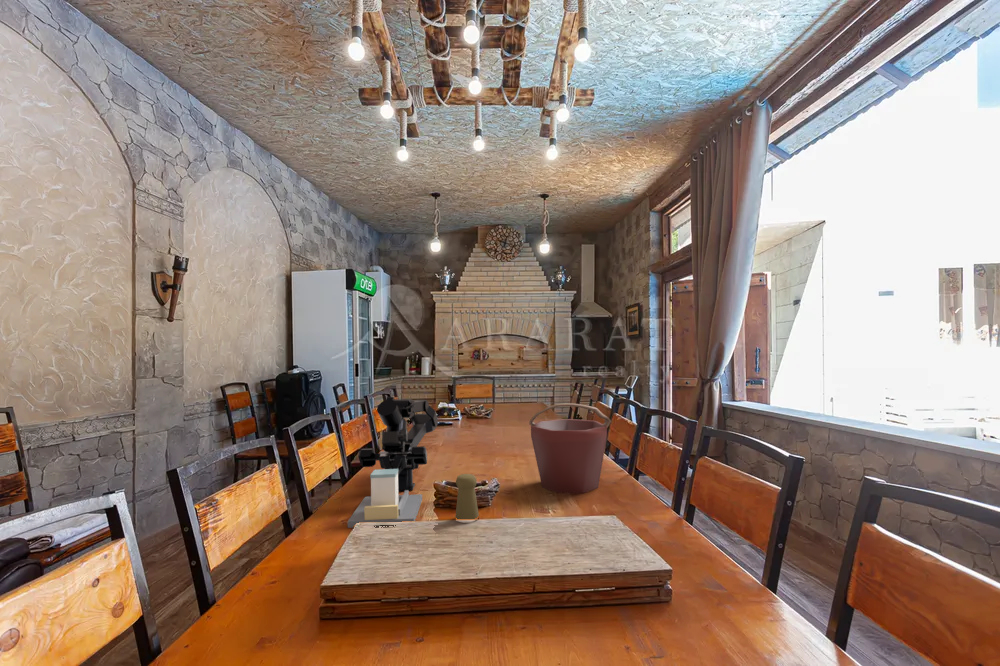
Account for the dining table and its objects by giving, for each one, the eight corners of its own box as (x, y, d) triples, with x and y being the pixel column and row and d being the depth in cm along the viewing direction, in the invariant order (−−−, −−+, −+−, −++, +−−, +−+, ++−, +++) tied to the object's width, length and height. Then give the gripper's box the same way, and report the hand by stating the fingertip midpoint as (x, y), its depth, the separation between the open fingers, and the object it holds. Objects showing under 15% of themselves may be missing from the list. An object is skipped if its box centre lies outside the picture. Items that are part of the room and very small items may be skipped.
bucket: (620, 482, 150) (618, 401, 151) (594, 502, 131) (591, 410, 132) (550, 472, 163) (547, 398, 164) (516, 490, 144) (514, 406, 145)
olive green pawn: (475, 523, 118) (474, 478, 118) (452, 522, 119) (451, 477, 119) (481, 515, 124) (480, 472, 124) (459, 514, 125) (458, 471, 125)
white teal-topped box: (375, 507, 127) (374, 469, 127) (399, 506, 127) (398, 468, 127) (371, 514, 121) (370, 474, 122) (395, 513, 122) (395, 474, 122)
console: (365, 501, 137) (365, 485, 137) (422, 499, 138) (421, 483, 138) (347, 527, 117) (347, 509, 118) (413, 524, 118) (413, 506, 118)
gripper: (358, 420, 137) (350, 470, 126) (425, 418, 138) (422, 467, 127) (365, 442, 144) (358, 491, 133) (428, 439, 146) (426, 487, 135)
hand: (390, 484), depth 132 cm, fingers closed
